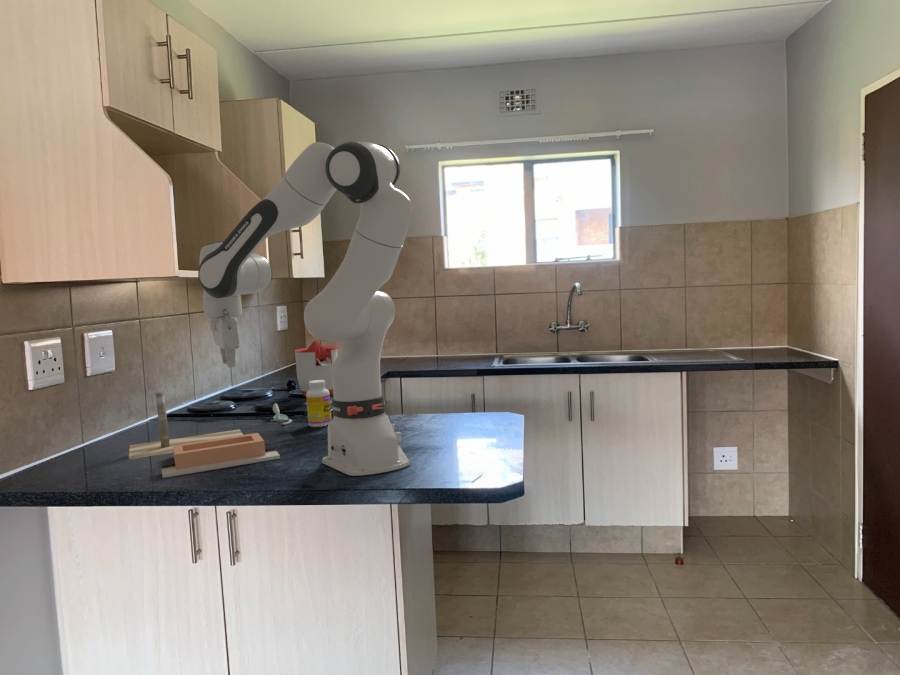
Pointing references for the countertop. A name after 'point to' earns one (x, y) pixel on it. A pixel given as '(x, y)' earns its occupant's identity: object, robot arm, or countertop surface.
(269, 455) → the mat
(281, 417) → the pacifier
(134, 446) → the stand
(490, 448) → the countertop surface
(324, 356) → the citrus juicer
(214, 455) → the link
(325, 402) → the supplement bottle
